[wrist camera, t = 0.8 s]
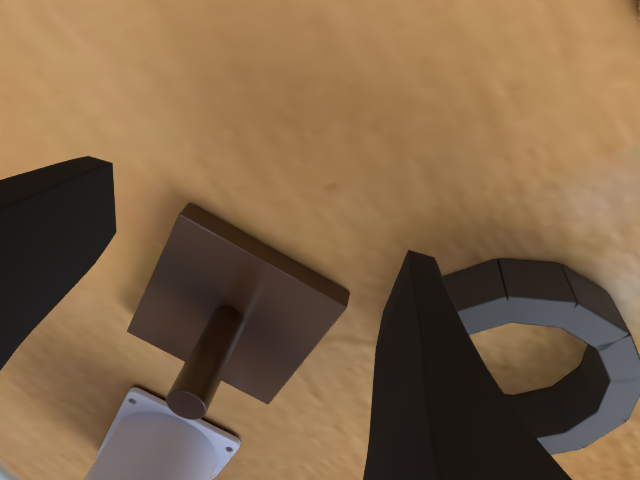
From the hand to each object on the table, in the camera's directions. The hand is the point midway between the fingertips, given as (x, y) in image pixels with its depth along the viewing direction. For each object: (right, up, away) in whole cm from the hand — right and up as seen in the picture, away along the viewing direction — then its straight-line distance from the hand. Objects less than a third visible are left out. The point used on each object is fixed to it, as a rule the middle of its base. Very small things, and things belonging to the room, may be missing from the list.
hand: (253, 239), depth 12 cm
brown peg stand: (-3, -4, +15) cm, 15 cm away
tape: (+11, -5, +13) cm, 17 cm away
